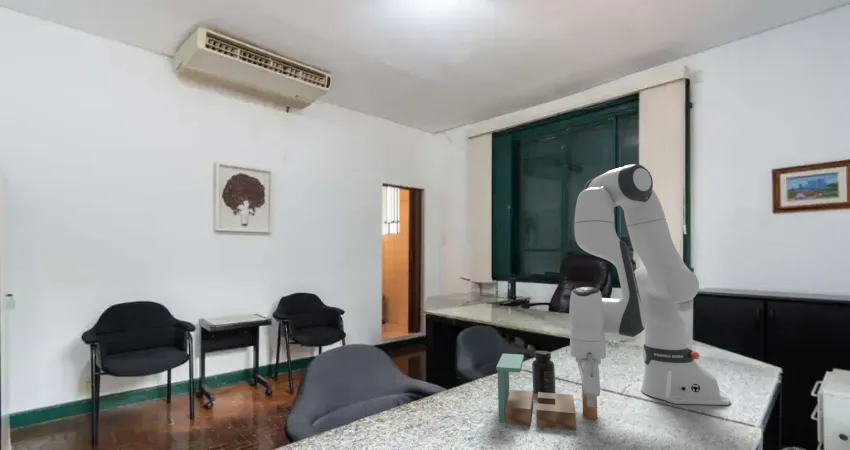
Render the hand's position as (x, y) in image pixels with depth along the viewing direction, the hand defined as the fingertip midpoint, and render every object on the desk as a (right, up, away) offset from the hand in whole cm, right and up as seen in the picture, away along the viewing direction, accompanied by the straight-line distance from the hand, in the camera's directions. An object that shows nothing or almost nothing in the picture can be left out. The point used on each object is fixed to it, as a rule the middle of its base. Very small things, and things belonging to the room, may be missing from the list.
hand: (589, 402), depth 112 cm
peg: (0, -4, 0) cm, 4 cm away
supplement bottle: (-6, -5, +20) cm, 22 cm away
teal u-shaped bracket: (-20, -4, +3) cm, 21 cm away
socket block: (-13, -4, 0) cm, 13 cm away
